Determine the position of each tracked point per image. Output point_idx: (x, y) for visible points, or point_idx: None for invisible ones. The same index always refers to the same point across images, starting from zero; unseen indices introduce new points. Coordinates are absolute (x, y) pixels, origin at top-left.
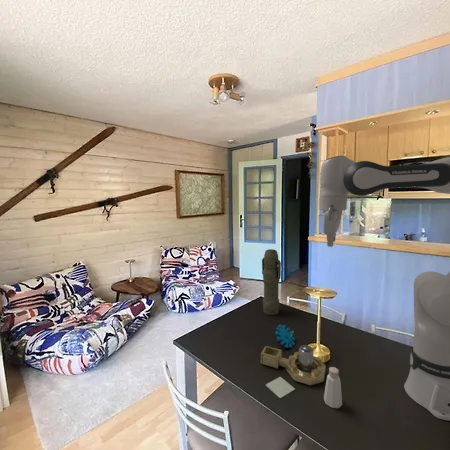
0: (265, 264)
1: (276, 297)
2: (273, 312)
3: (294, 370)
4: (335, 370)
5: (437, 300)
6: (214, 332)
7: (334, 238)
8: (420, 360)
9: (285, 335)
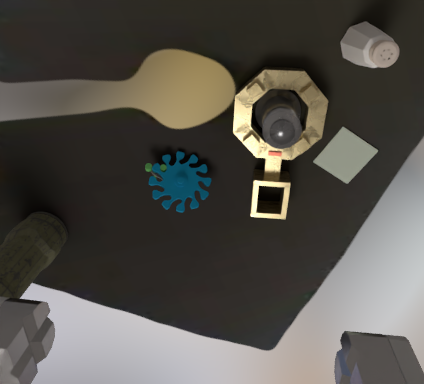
0: None
1: (23, 245)
2: (57, 225)
3: (309, 139)
4: (389, 50)
5: None
6: (208, 312)
7: (20, 337)
8: None
9: (183, 182)
